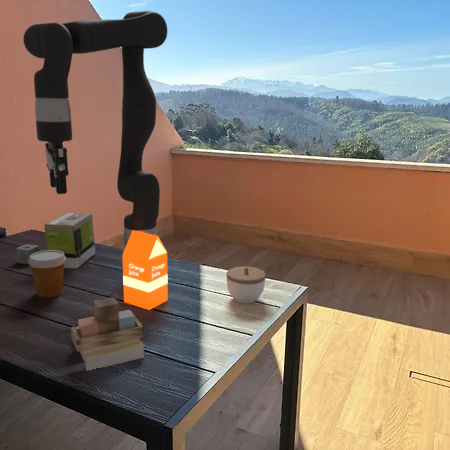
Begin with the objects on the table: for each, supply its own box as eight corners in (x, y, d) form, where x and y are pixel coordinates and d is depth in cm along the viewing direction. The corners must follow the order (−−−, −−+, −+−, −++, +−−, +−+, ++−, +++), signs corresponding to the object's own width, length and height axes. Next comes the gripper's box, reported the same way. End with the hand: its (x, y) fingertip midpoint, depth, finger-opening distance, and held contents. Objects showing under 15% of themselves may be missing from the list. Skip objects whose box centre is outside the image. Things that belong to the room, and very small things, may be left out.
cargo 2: (130, 323, 106) (129, 309, 105) (134, 330, 103) (134, 315, 102) (115, 326, 104) (114, 312, 103) (119, 333, 101) (119, 318, 100)
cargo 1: (95, 330, 102) (94, 316, 101) (98, 337, 99) (98, 323, 98) (79, 333, 101) (78, 319, 100) (82, 341, 98) (81, 326, 97)
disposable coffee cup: (56, 305, 124) (53, 262, 121) (24, 301, 126) (20, 259, 123) (74, 291, 133) (72, 251, 130) (44, 288, 135) (41, 248, 132)
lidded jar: (269, 295, 134) (271, 264, 131) (256, 310, 124) (257, 277, 122) (235, 288, 138) (236, 258, 135) (219, 302, 128) (220, 270, 126)
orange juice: (149, 314, 120) (147, 239, 115) (123, 305, 125) (121, 233, 120) (168, 303, 127) (167, 232, 122) (143, 295, 131) (142, 226, 126)
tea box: (68, 252, 165) (65, 211, 161) (95, 254, 164) (93, 213, 160) (47, 267, 151) (43, 222, 147) (76, 269, 150) (74, 224, 146)
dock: (127, 332, 111) (127, 320, 110) (143, 357, 101) (143, 344, 100) (74, 344, 105) (74, 331, 104) (86, 371, 95) (85, 357, 94)
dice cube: (17, 262, 154) (16, 248, 153) (27, 258, 159) (26, 244, 157) (30, 264, 153) (29, 250, 151) (40, 260, 157) (39, 245, 156)
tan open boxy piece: (134, 325, 108) (133, 291, 106) (143, 337, 103) (142, 301, 101) (71, 338, 101) (69, 302, 99) (77, 352, 96) (74, 314, 94)
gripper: (77, 121, 101) (81, 194, 106) (65, 117, 113) (69, 184, 118) (40, 121, 98) (46, 197, 102) (31, 117, 110) (37, 186, 114)
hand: (58, 190), depth 110 cm, fingers open, 8 cm apart
